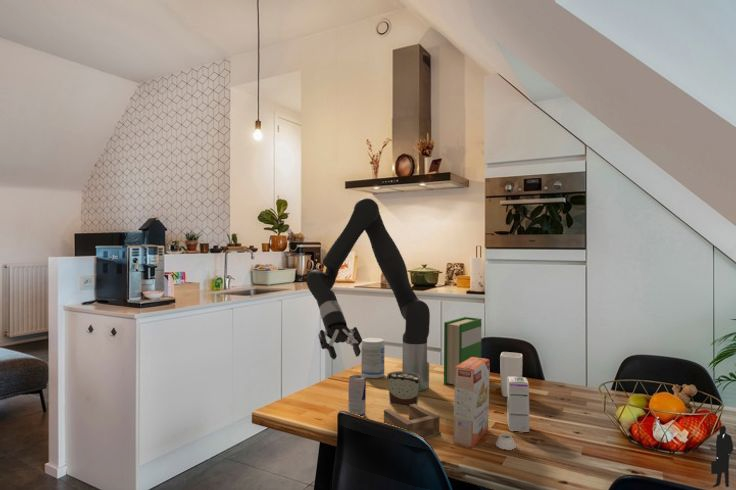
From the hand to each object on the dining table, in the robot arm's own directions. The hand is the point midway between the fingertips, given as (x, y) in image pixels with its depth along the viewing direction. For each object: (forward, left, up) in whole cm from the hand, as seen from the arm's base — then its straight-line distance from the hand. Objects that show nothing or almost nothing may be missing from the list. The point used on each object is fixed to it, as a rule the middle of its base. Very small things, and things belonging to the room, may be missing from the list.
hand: (346, 356), depth 146 cm
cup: (-57, +17, -17) cm, 62 cm away
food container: (-20, +5, -17) cm, 27 cm away
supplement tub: (-26, -28, -17) cm, 42 cm away
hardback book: (-54, -5, -17) cm, 57 cm away
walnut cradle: (-8, +25, -17) cm, 31 cm away
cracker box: (-21, +36, -17) cm, 45 cm away
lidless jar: (-25, +45, -17) cm, 54 cm away
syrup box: (-37, +38, -17) cm, 56 cm away
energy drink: (0, +7, -17) cm, 19 cm away
